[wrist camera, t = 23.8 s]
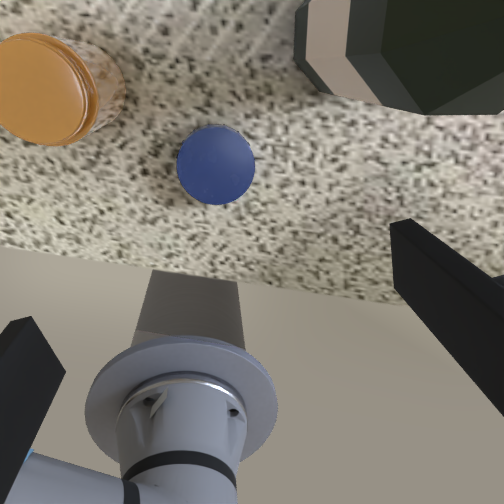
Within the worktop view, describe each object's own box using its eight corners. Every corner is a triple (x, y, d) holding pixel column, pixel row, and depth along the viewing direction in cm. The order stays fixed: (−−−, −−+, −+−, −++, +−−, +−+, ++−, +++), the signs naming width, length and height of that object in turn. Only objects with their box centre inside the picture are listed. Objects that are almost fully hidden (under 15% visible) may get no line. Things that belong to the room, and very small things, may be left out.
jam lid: (255, 125, 31) (257, 128, 29) (251, 199, 34) (253, 205, 32) (176, 122, 30) (174, 125, 29) (179, 198, 33) (177, 204, 32)
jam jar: (120, 136, 30) (85, 163, 22) (40, 114, 29) (-29, 134, 21) (131, 56, 28) (98, 52, 20) (45, 29, 27) (-30, 12, 18)
